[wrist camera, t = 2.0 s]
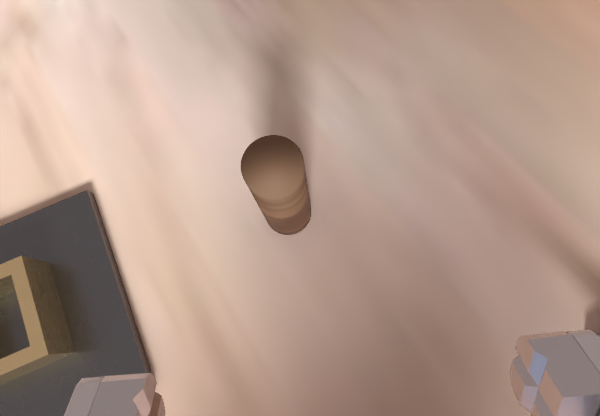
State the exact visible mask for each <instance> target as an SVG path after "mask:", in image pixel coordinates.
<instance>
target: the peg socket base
mask: <svg viewBox="0 0 600 416" xmlns="http://www.w3.org/2000/svg"><path fill="white" fill-rule="evenodd" d="M142 373H151V370H150V367H149V364H148V361H147V358H146V355H145V352H144V349H143V346H142V342H141V339H140V336H139V333H138V330H137V327H136V324H135V321H134V318H133V315H132V312H131V309H130V306H129V303H128V300H127V296H126V293H125V290H124V287H123V284H122V281H121V278H120V275H119V272H118V269H117V266H116V263H115V260H114V257H113V254H112V251H111V247H110V244H109V241H108V238H107V235H106V232H105V229H104V226H103V223H102V220H101V217H100V214H99V211H98V208H97V205H96V201H95V198H94V195H93V194H92V193H91V192H89V191H84V192H82V193H79V194H77V195H75V196H72V197H70V198H68V199H65V200H63V201H60V202H58V203H56V204H53V205H51V206H49V207H46V208H44V209H41V210H39V211H37V212H34V213H32V214H30V215H27V216H25V217H23V218H20V219H18V220H15V221H13V222H11V223H8V224H6V225H4V226H1V227H0V416H64V414H65V412H66V409H67V407H68V404H69V402H70V399H71V397H72V394H73V392H74V389H75V387H76V385H77V384H78V382H79V381H80V380H81V379H82V378H90V377H102V376H114V375H128V374H142Z"/></svg>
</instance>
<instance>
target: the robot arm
mask: <svg viewBox="0 0 600 416" xmlns="http://www.w3.org/2000/svg"><path fill="white" fill-rule="evenodd" d="M515 348H516V350H517V352H518V354H519V356H518V357H516V358H515V359H514V360H513V361H512V364H511V369H510V377H511V384H512V388H513V391H514V394H515V396H516V398H517V400H518V402H519V404H520V405H521V406H523V407H524V408H526V409H527V410H528V411H530V412H531V416H600V339H599V337H598V336H597V335H596V333H594V332H593V331H591V330H590V329H589V330H578V331H568V332H554V333H545V334H536V335H527V336H521V337H520V338H519V339H518V340H517V343H516V347H515ZM156 384H157V382H156V380H155V377H154V375H153V373H142V374H128V375H114V376H102V377H90V378H82V379H81V380H80V381H79V382H78V384H77V385H76V387H75V389H74V392H73V394H72V397H71V399H70V402H69V404H68V407H67V409H66V412H65V414H64V416H165V407H164V402H163V399H162V396H161V395H160V394H158V393H156V392H155V388H156Z"/></svg>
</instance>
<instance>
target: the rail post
mask: <svg viewBox="0 0 600 416" xmlns="http://www.w3.org/2000/svg"><path fill="white" fill-rule="evenodd" d="M241 172H242V176H243V178H244V180H245V182H246V184H247V186H248V187H249V189H250V191H251V193H252V195H253V197H254V198H255V200H256V202H257V204H258V206H259V207H260V209H261V211H262V213H263V215H264V217H265V218H266V220H267V222H268V224H269V225H270V227H271V228H272V229H273V230H275V231H276V232H278V233H281V234H285V235H290V234H295V233H298V232H300V231H301V230H302V229H304V228H305V227H306V225H307V224H308V222H309V220H310V217H311V207H310V200H309V194H308V187H307V180H306V173H305V167H304V160H303V156H302V153H301V151H300V149H299V148H298V146H297V145H296V144H295V143H294V142H292V141H291V140H289V139H288V138H285V137H282V136H277V135H270V136H265V137H262V138H259V139H257V140H256V141H254V142H253V143H252V144H250V145H249V147H248V148H247V149H246V150H245V152H244V154H243V157H242V160H241Z"/></svg>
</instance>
